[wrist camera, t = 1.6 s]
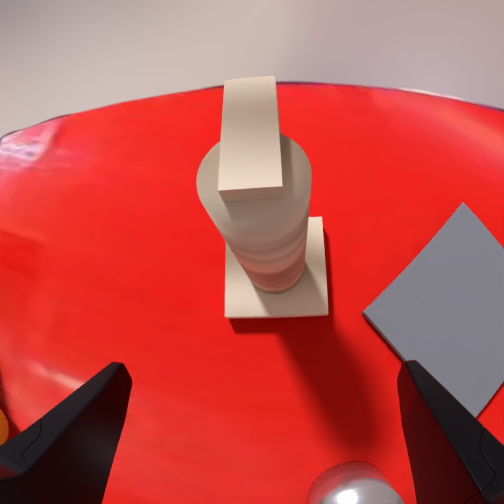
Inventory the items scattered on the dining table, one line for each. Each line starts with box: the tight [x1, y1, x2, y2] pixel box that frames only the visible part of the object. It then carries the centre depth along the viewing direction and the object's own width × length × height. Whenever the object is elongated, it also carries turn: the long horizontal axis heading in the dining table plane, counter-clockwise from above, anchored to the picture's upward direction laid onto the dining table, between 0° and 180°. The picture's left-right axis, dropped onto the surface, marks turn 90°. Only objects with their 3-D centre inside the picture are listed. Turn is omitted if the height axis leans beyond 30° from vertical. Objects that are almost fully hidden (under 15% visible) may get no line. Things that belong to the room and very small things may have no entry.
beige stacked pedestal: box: [197, 76, 328, 319], centre depth 17 cm, size 8×7×14 cm
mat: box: [362, 202, 504, 417], centre depth 20 cm, size 13×13×1 cm
